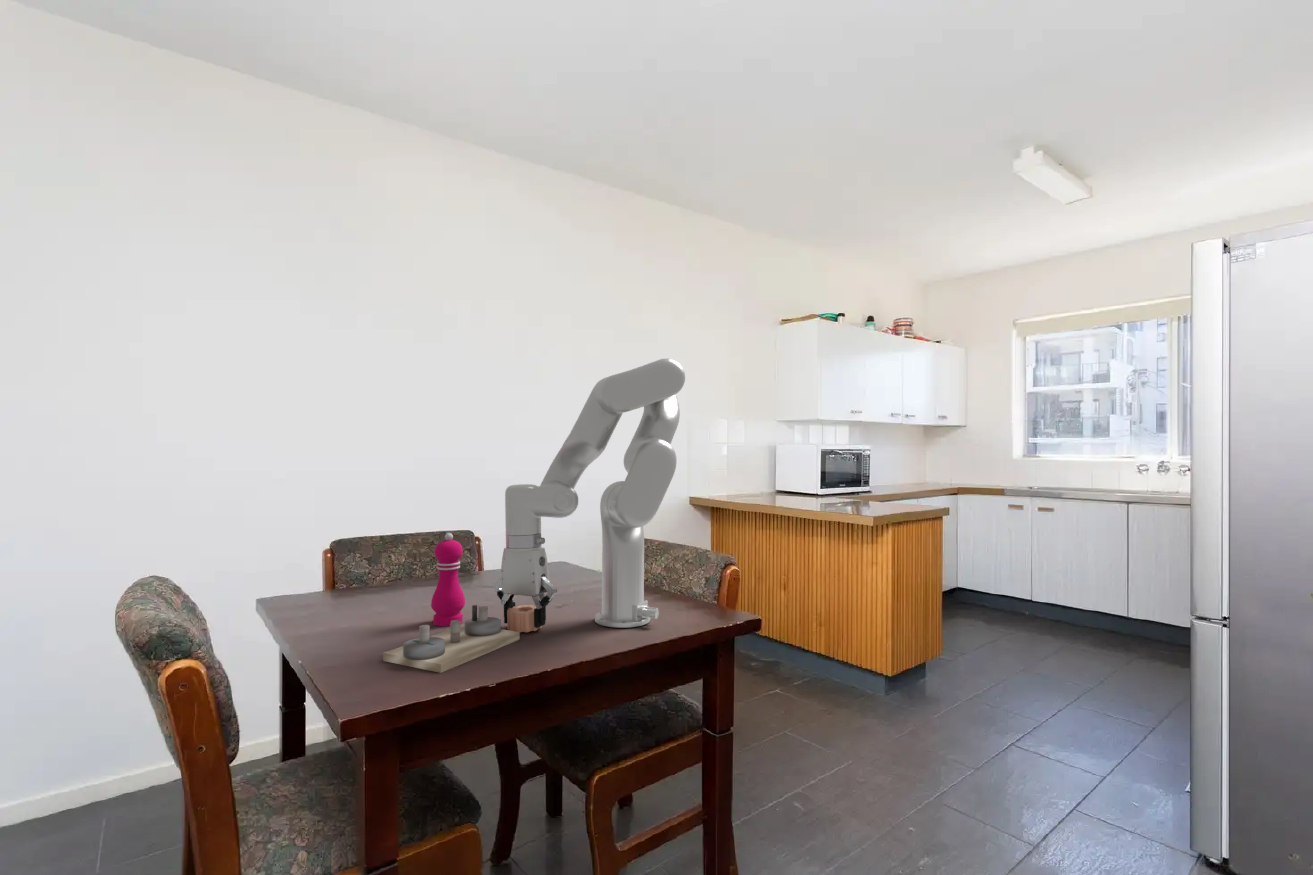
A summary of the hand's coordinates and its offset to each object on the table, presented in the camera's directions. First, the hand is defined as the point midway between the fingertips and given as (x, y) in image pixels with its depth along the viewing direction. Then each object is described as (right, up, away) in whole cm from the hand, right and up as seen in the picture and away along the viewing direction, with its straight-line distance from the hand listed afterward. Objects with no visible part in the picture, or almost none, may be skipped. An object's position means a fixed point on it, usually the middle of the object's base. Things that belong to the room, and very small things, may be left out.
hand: (524, 623), depth 141 cm
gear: (0, -1, 0) cm, 1 cm away
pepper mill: (-18, -1, +5) cm, 19 cm away
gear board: (-11, -1, -14) cm, 18 cm away
